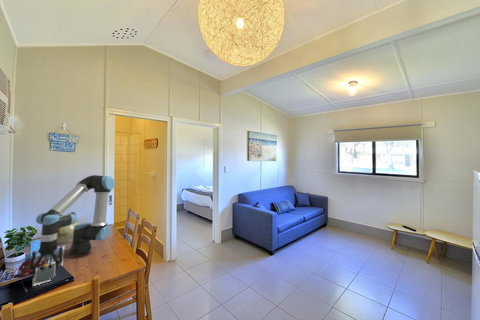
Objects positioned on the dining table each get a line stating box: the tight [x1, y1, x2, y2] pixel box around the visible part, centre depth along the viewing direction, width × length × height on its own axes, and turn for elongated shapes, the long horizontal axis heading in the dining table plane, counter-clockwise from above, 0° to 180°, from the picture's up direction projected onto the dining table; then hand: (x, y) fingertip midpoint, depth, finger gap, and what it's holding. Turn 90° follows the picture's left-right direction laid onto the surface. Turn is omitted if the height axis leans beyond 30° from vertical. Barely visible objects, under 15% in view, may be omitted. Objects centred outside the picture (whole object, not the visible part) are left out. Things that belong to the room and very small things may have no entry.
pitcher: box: [57, 211, 80, 245], centre depth 181 cm, size 22×24×25 cm
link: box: [36, 262, 56, 282], centre depth 121 cm, size 8×8×6 cm
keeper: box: [32, 262, 51, 287], centre depth 121 cm, size 10×10×10 cm
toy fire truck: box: [17, 255, 47, 278], centre depth 128 cm, size 7×12×10 cm, turn 138°
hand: (44, 276), depth 121 cm, fingers closed on link, 7 cm apart
